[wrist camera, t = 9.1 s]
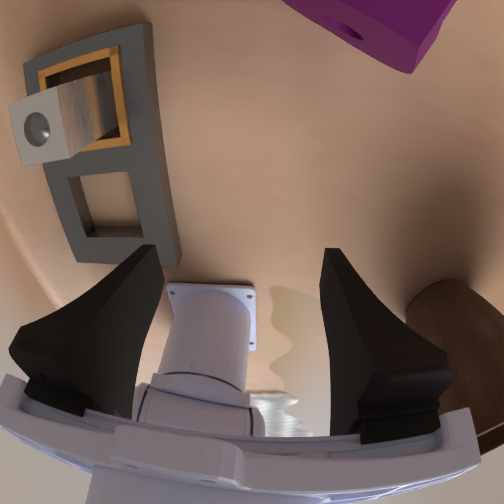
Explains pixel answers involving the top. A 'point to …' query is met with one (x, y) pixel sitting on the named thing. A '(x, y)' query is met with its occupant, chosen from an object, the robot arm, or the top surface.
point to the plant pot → (466, 353)
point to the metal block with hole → (63, 119)
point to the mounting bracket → (381, 26)
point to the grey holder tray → (114, 149)
